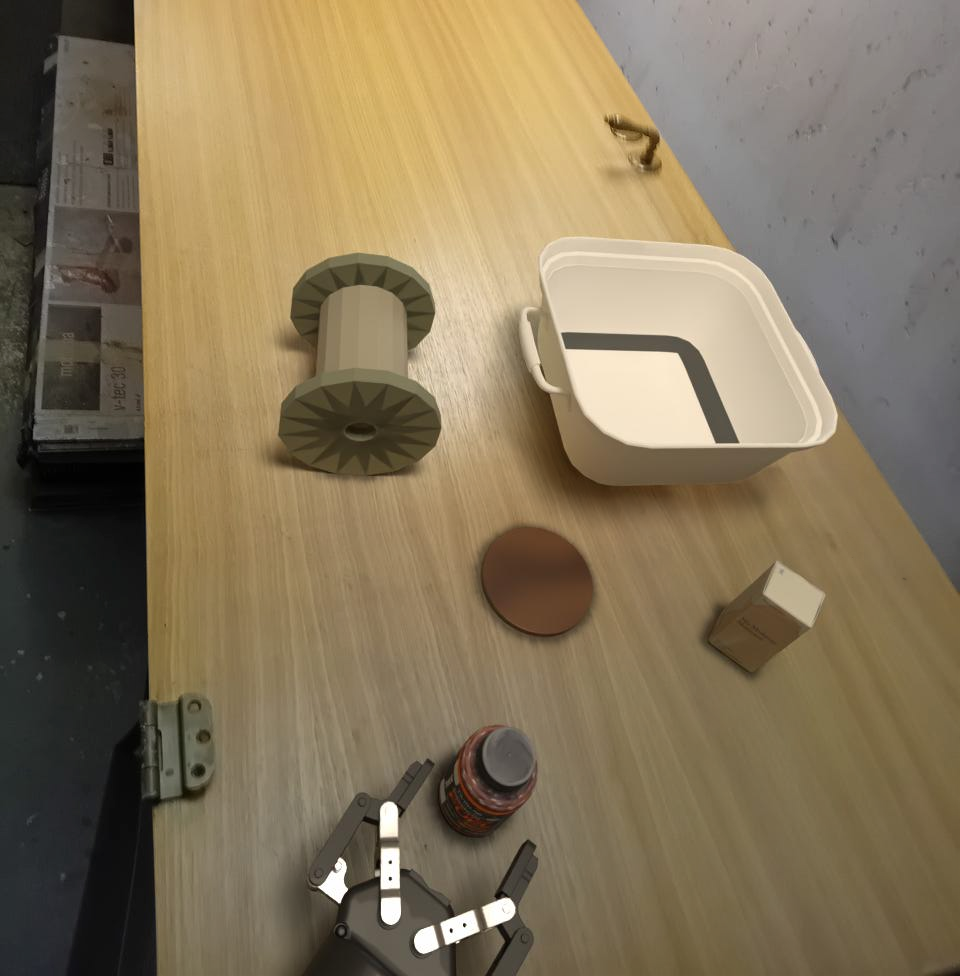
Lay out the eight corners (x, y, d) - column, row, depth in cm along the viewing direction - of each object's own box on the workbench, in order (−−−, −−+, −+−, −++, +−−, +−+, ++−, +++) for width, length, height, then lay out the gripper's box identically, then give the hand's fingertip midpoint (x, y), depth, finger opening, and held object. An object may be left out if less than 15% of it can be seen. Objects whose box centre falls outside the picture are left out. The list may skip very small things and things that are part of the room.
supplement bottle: (425, 817, 66) (454, 776, 58) (453, 744, 70) (484, 696, 62) (494, 853, 66) (534, 816, 57) (519, 777, 70) (559, 732, 62)
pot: (518, 530, 85) (561, 448, 75) (474, 320, 104) (504, 230, 93) (807, 520, 95) (882, 445, 84) (720, 329, 113) (773, 248, 102)
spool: (424, 479, 87) (454, 389, 76) (274, 470, 83) (284, 374, 73) (420, 356, 98) (445, 263, 87) (287, 344, 94) (297, 245, 84)
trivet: (613, 596, 83) (615, 593, 82) (532, 659, 77) (534, 657, 76) (540, 511, 87) (541, 508, 87) (458, 565, 81) (459, 562, 81)
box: (706, 641, 82) (759, 590, 74) (722, 609, 85) (775, 556, 77) (754, 676, 80) (813, 628, 73) (768, 642, 83) (827, 592, 75)
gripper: (440, 1154, 44) (581, 859, 55) (234, 962, 47) (405, 720, 58) (416, 1149, 49) (549, 882, 60) (233, 978, 53) (389, 753, 63)
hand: (478, 803), depth 59 cm, fingers open, 8 cm apart
